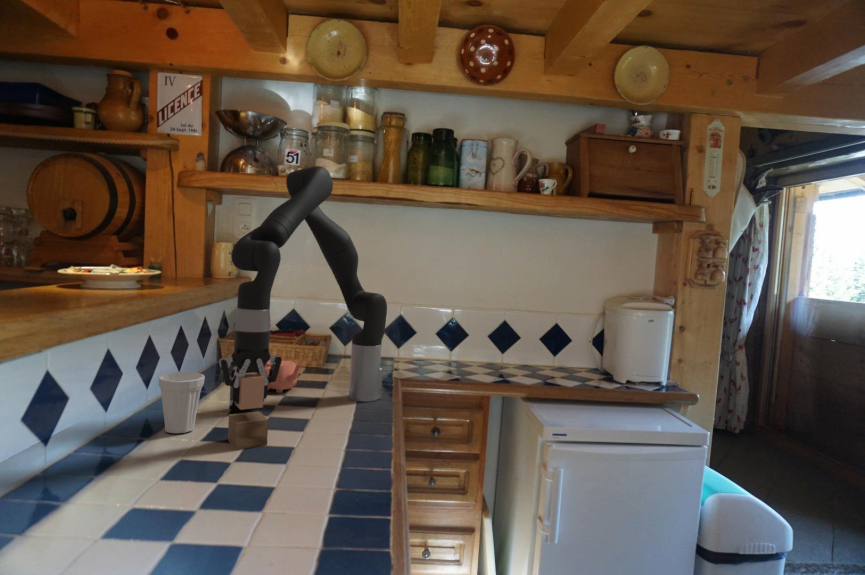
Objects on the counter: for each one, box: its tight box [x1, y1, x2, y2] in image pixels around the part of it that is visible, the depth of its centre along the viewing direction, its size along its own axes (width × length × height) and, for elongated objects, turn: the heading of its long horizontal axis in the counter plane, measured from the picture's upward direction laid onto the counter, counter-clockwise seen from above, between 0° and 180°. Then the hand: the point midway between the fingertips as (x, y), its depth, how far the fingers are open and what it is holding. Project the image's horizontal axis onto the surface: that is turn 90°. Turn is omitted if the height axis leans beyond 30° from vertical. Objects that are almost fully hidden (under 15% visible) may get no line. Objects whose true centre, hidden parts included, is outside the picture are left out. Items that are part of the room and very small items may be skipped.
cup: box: [158, 371, 206, 434], centre depth 124 cm, size 10×10×13 cm
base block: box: [227, 411, 269, 450], centre depth 119 cm, size 7×7×6 cm
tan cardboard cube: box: [235, 373, 265, 410], centre depth 119 cm, size 5×5×7 cm
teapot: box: [264, 357, 304, 394], centre depth 166 cm, size 14×12×10 cm
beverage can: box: [229, 365, 256, 414], centre depth 142 cm, size 7×7×12 cm
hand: (248, 401), depth 119 cm, fingers closed on tan cardboard cube, 5 cm apart
